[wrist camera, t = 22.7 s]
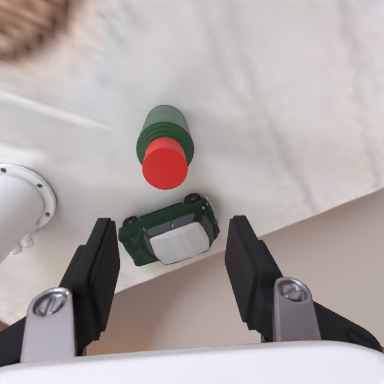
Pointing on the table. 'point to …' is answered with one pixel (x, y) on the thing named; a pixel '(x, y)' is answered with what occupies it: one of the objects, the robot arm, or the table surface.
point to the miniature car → (171, 232)
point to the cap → (165, 163)
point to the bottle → (165, 131)
